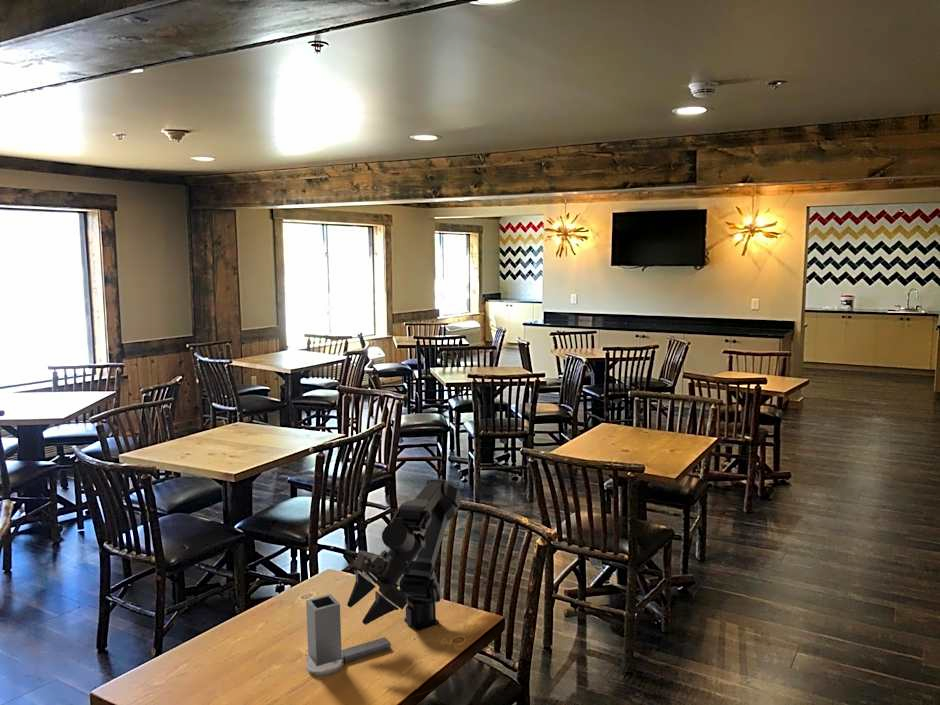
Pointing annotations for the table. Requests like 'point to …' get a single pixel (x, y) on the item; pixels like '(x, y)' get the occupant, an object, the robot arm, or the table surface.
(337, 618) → the socket
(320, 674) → the ratchet
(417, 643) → the table surface
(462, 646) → the table surface
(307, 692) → the table surface
